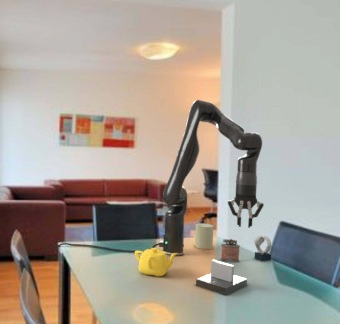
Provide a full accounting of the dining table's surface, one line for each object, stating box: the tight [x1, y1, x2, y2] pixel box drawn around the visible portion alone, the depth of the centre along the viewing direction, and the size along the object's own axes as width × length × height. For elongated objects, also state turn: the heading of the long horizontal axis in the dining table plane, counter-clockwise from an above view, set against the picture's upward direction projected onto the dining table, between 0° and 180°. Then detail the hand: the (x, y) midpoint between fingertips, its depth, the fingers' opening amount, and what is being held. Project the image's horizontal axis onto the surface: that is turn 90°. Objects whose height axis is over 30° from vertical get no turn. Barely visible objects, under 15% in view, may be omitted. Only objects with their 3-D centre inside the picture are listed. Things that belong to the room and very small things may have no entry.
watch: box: [253, 235, 272, 262], centre depth 182 cm, size 6×8×11 cm
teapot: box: [134, 247, 178, 278], centre depth 158 cm, size 14×13×10 cm
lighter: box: [220, 238, 240, 263], centre depth 178 cm, size 8×3×10 cm, turn 84°
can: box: [194, 223, 215, 250], centre depth 202 cm, size 9×9×12 cm
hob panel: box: [195, 273, 248, 296], centre depth 145 cm, size 16×13×3 cm
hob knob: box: [210, 259, 235, 282], centre depth 145 cm, size 8×2×6 cm, turn 42°
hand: (244, 226), depth 152 cm, fingers open, 3 cm apart
